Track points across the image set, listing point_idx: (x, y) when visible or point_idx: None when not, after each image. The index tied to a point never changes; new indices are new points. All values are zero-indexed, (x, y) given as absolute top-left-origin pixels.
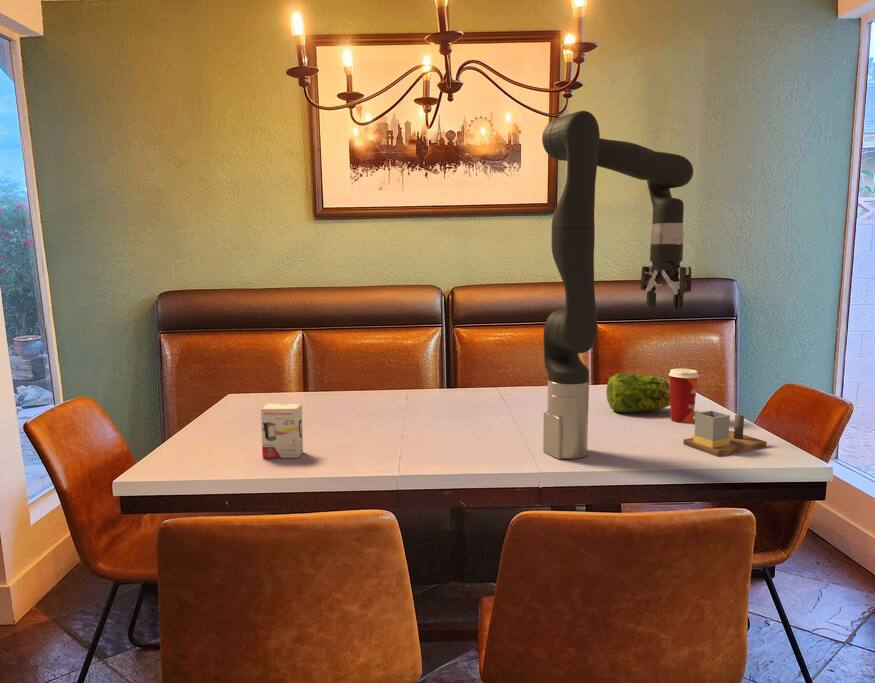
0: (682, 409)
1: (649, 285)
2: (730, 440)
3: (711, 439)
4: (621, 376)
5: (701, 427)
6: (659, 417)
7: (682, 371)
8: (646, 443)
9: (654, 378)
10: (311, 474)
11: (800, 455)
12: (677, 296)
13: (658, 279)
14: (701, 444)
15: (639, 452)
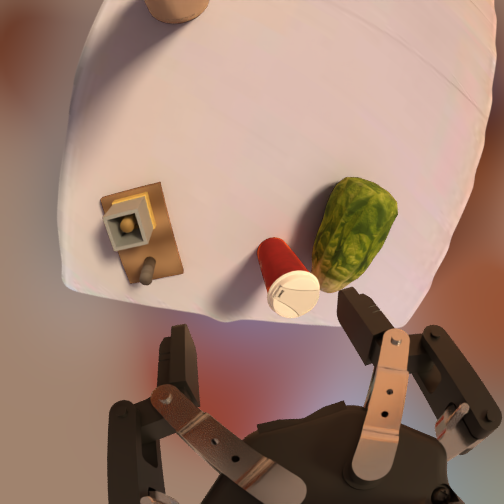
0: (263, 253)
1: (396, 365)
2: (141, 245)
3: (114, 204)
4: (376, 209)
5: (129, 204)
6: (298, 230)
7: (291, 293)
8: (179, 128)
9: (345, 262)
10: None
11: (99, 291)
12: (166, 381)
13: (343, 428)
14: (131, 195)
15: (143, 96)
